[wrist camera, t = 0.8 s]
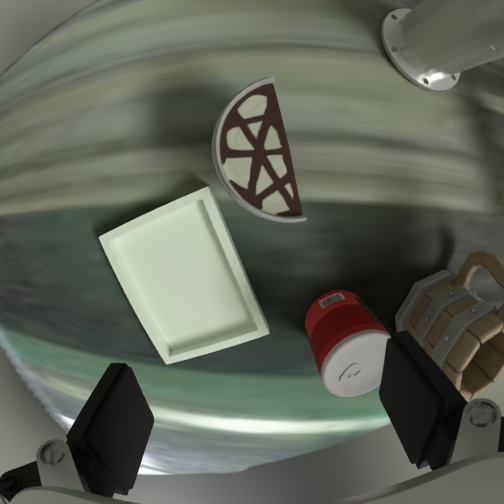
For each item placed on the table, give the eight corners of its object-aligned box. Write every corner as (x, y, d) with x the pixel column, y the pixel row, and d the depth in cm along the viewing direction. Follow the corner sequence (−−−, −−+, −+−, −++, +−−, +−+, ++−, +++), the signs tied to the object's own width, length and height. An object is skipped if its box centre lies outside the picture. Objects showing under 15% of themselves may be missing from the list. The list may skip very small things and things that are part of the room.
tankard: (432, 357, 38) (480, 415, 23) (379, 337, 36) (428, 409, 22) (494, 248, 33) (562, 280, 19) (449, 208, 32) (532, 233, 17)
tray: (210, 185, 31) (207, 186, 29) (268, 325, 35) (269, 333, 33) (106, 233, 32) (98, 237, 30) (169, 356, 37) (166, 364, 35)
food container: (210, 112, 29) (193, 87, 19) (265, 100, 29) (273, 70, 19) (234, 221, 32) (228, 242, 22) (290, 209, 32) (308, 225, 22)
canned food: (291, 330, 36) (306, 387, 25) (324, 276, 34) (355, 321, 23) (340, 349, 37) (365, 404, 26) (373, 300, 35) (412, 345, 24)
